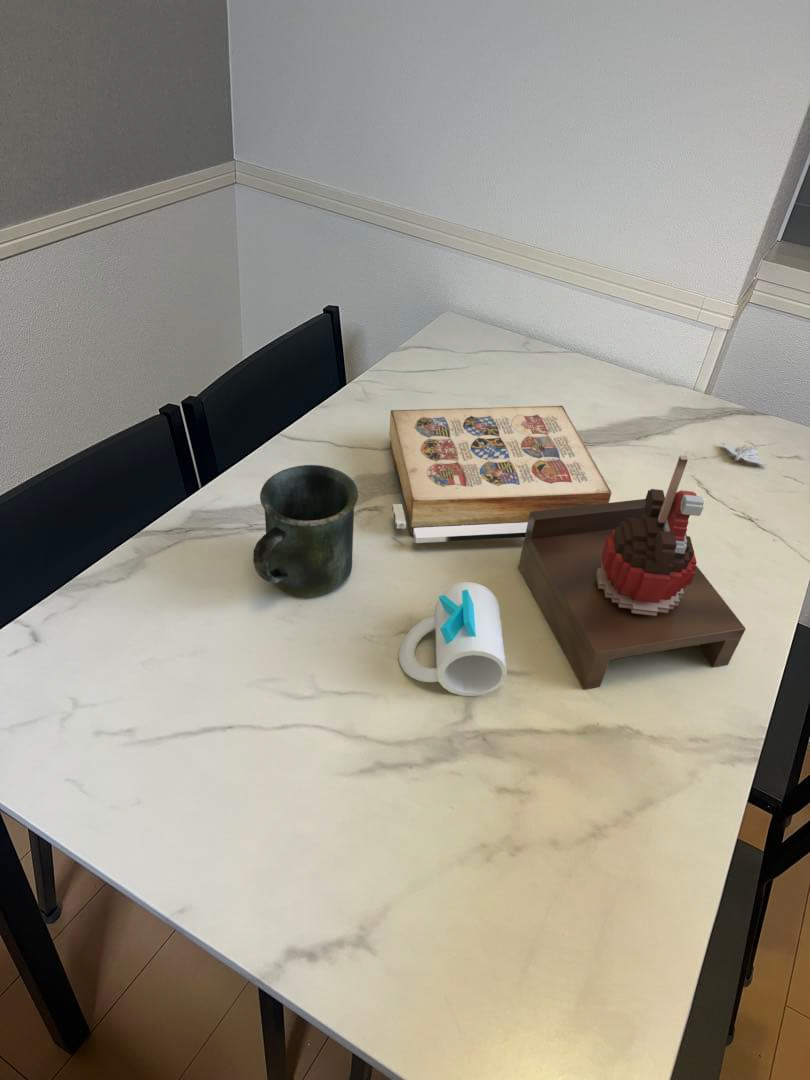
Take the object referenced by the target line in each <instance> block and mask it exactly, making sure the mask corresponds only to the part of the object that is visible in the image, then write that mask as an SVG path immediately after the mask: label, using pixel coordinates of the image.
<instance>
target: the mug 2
mask: <svg viewBox="0 0 810 1080" xmlns="http://www.w3.org/2000/svg"><path fill="white" fill-rule="evenodd" d="M502 628H503V627H502V620H501V612H500V605H499V601H498V599H497V597H496V596H495V594H494V593H493V592H492V591H491V590H490V589H489V588H487V587H486V586H485V585H482V584H480V583H477V582H473V581H463V582H458V583H454V584H452V585H450V586H449V587H447V588H446V589H445V590H443V591H442V593H441V594H440V595H439V596H438V599H437V601H436V604H435V608H434V615H431V616H428V617H426V618H425V619H423V620H421V621H419V622H417V623H416V624H415V625H414V626H413V627H412V628H410V630H408V632H407V634H405V636H404V637H403V639H402V642H401V644H400V645H399V651H398V660H399V665H400V667H401V668H402V670H403V672H404V673H405V674H406V675H408V676H409V677H410V678H411V679H414V680H417V681H419V682H425V683H436V682H438V683H439V684H440V685H441V687H442V688H443V689H445V690H446V691H448V692H449V693H452V694H455V695H458V696H463V697H477V696H483V695H486V694H490V693H492V692H494V691H495V690H497V689H499V688H500V687H501V685H503V684H504V682H505V681H506V677H507V675H508V673H507V664H506V654H505V647H504V639H503V629H502ZM433 631H435V658H436V661H435V662H436V667H426V666H424V665H422V664H421V663H420V662H419V661H418V660H417V657H416V648H417V646H418V644H419V642H420V641H421V640H422V639H423V637H425V636H426V635H427V634H429V633H430V632H433Z"/></svg>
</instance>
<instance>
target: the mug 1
mask: <svg viewBox="0 0 810 1080" xmlns="http://www.w3.org/2000/svg"><path fill="white" fill-rule="evenodd" d="M358 499H359V490H358V487H357V485H356V483H355V481H354V480H353V479H352V478H351V477H350V476H349V475H348V474H347V473H344V472H343V471H341V470H338V469H336V468H333V467H330V466H327V465H326V466H325V465H320V464H303V465H302V464H301V465H296V466H291V467H288V468H285V469H283V470H282V469H281V470H280V471H278V472H276V473H275V474H273V475H272V476H270V477H269V478H268V479H267V480H265V482H264V484H263V485H262V488H261V490H260V494H259V501H260V503H261V506H262V508H263V510H264V524H265V534H264V535H263V536H262V537H261V538H259V540H258V541H257V542H256V544H255V546H254V549H253V556H252V562H253V566H254V570H255V572H256V573H257V575H258V576H259V577H260V578H261V579H263V580H264V581H266V582H268V583H271V584H274V585H275V586H277V587H278V588H279V589H280V590H281V591H283V592H285V593H287V594H289V595H292V596H296V597H302V598H316V597H321V596H324V595H328V594H330V593H332V592H334V591H336V590H337V589H339V588H340V587H341V586H342V585H344V584H345V582H346V581H347V580H348V578H349V577H350V575H351V573H352V569H353V551H354V550H353V546H354V516H355V506H356V504H357V502H358Z"/></svg>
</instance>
